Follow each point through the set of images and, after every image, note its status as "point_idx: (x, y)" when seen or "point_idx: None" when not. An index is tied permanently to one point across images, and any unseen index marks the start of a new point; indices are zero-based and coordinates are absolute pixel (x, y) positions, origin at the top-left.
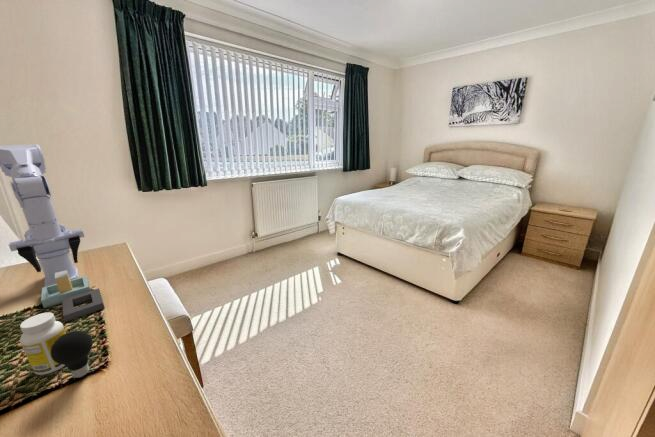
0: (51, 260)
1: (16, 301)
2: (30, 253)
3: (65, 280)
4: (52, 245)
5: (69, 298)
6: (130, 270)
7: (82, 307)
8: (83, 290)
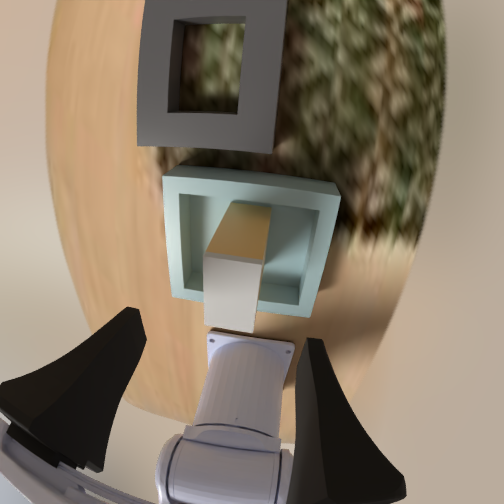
0: (247, 417)
1: (372, 312)
2: (336, 482)
3: (224, 243)
4: (219, 470)
5: (245, 136)
6: (75, 256)
7: (214, 2)
8: (188, 174)
